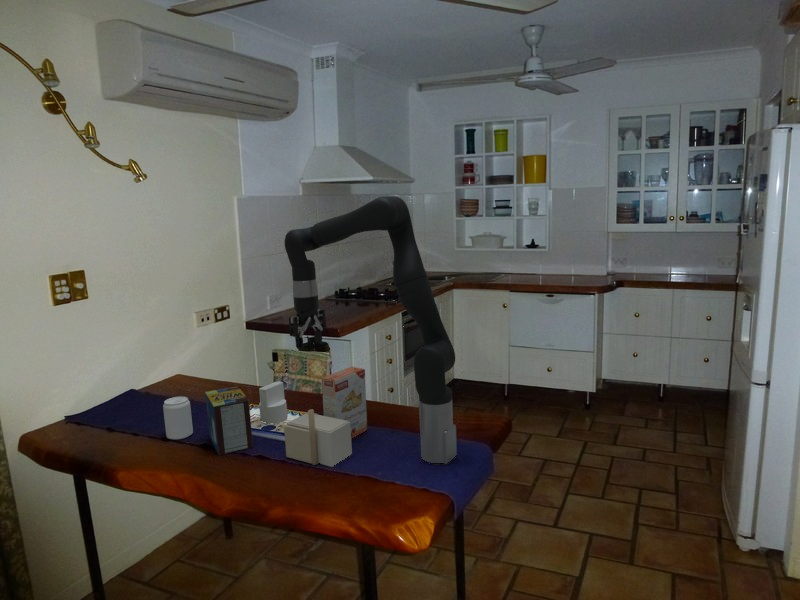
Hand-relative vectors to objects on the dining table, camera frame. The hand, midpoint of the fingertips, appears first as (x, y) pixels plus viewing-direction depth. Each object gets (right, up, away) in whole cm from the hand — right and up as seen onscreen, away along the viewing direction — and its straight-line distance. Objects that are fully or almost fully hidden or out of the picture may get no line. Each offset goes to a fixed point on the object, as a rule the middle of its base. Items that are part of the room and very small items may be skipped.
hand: (309, 345), depth 185 cm
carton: (+5, -31, -12) cm, 33 cm away
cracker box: (+12, -29, 0) cm, 31 cm away
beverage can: (-43, -30, +7) cm, 53 cm away
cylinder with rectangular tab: (-15, -27, +18) cm, 36 cm away
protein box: (-24, -30, 0) cm, 39 cm away
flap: (0, -31, -15) cm, 35 cm away
